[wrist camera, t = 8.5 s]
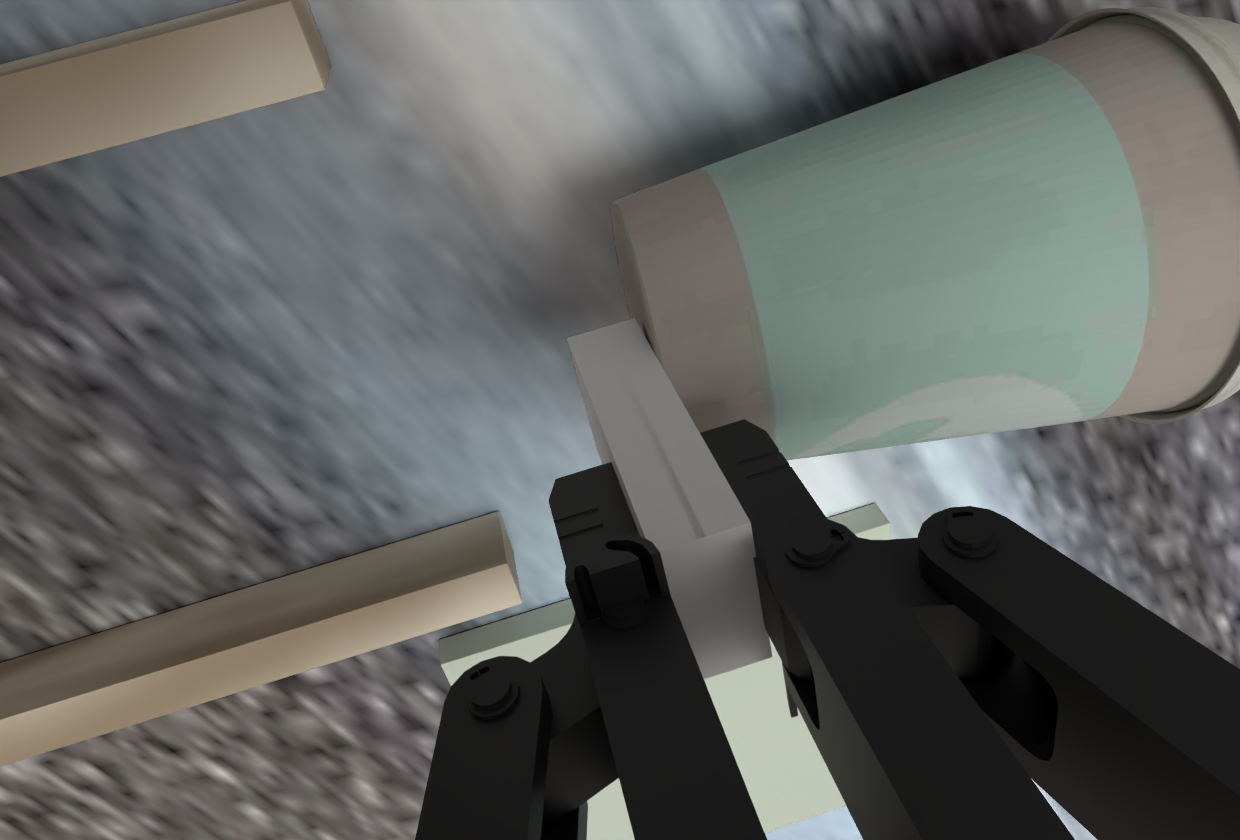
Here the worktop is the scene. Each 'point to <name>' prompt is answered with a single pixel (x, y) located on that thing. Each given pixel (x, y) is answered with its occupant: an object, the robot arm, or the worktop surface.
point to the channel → (271, 611)
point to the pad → (744, 700)
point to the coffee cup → (964, 250)
